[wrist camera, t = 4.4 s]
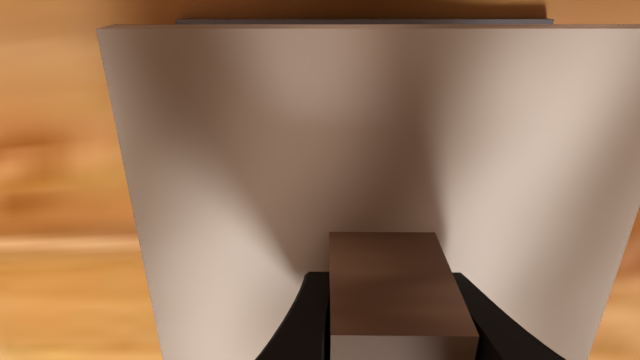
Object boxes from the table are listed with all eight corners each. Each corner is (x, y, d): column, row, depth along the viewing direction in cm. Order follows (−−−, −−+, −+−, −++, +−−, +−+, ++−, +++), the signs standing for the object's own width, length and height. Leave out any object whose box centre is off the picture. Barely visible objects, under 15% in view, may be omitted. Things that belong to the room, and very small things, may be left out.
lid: (668, 24, 11) (907, 56, 7) (549, 410, 17) (631, 568, 12) (114, 24, 11) (-28, 56, 7) (185, 406, 17) (134, 562, 13)
